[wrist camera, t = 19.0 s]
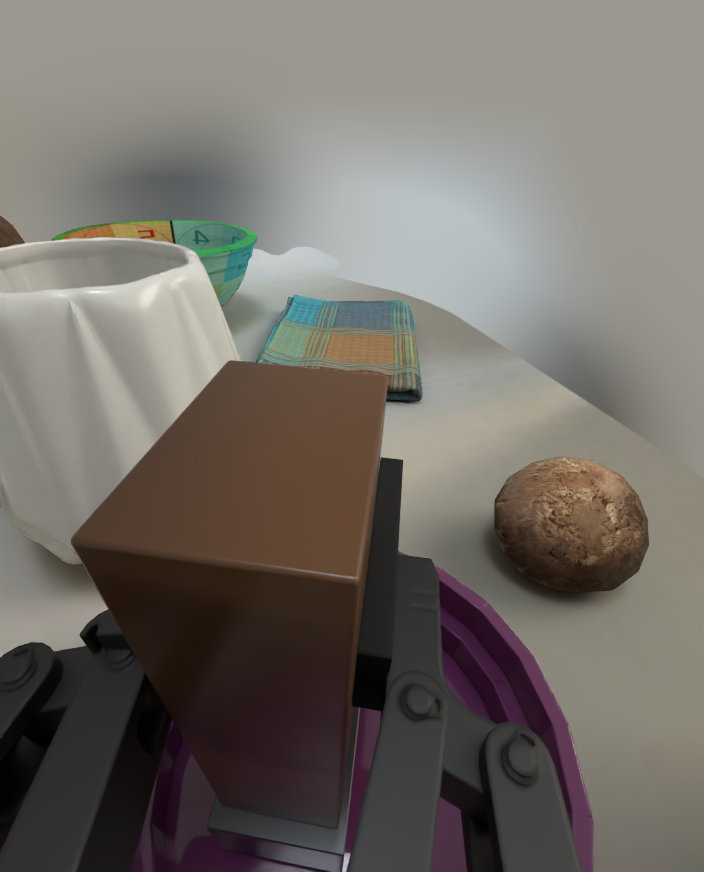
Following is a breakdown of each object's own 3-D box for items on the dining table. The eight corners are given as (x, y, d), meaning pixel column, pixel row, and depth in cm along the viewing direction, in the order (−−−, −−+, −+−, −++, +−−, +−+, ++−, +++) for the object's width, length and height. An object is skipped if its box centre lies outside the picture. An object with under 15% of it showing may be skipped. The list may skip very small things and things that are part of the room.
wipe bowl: (506, 613, 21) (529, 567, 19) (622, 1243, 9) (727, 1334, 7) (229, 572, 23) (218, 524, 20) (6, 1075, 10) (-88, 1101, 8)
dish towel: (409, 317, 57) (412, 299, 55) (424, 404, 38) (429, 380, 36) (289, 310, 57) (288, 292, 56) (244, 393, 38) (241, 369, 37)
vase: (304, 466, 30) (296, 247, 21) (174, 641, 19) (45, 348, 10) (154, 422, 34) (92, 220, 25) (-25, 549, 23) (-247, 274, 14)
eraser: (363, 675, 18) (401, 364, 9) (341, 874, 13) (379, 631, 4) (274, 660, 18) (225, 347, 9) (221, 848, 13) (9, 573, 4)
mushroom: (527, 444, 28) (573, 413, 22) (626, 524, 26) (706, 515, 20) (454, 529, 26) (482, 521, 20) (554, 620, 25) (617, 641, 19)
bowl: (253, 352, 46) (243, 259, 40) (45, 351, 44) (1, 252, 38) (270, 292, 64) (265, 221, 58) (123, 290, 62) (101, 216, 56)
